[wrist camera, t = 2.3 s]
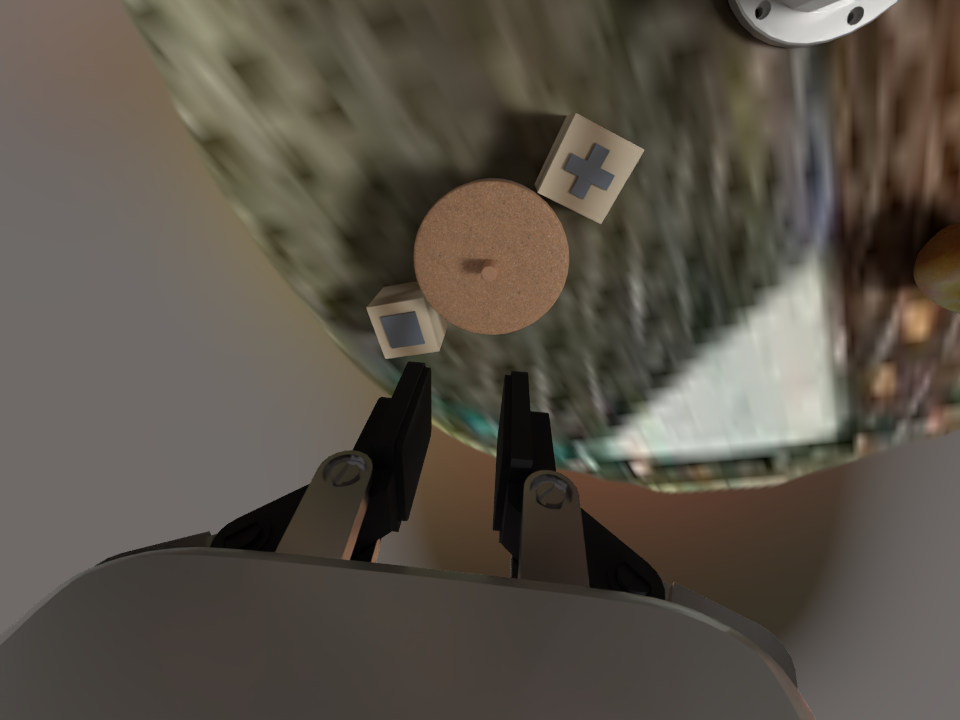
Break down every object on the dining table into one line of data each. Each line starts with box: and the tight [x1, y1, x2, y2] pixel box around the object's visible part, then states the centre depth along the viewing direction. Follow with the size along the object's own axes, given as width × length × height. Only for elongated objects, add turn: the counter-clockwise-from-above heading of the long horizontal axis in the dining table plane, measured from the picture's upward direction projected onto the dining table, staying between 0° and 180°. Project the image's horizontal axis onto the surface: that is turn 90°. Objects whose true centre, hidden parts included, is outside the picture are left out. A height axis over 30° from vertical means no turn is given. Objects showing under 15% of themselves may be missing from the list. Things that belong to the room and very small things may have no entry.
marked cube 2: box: [535, 113, 644, 224], centre depth 27 cm, size 5×5×5 cm
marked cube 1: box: [366, 281, 448, 359], centre depth 34 cm, size 5×5×5 cm
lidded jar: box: [413, 178, 569, 335], centre depth 29 cm, size 11×11×9 cm
